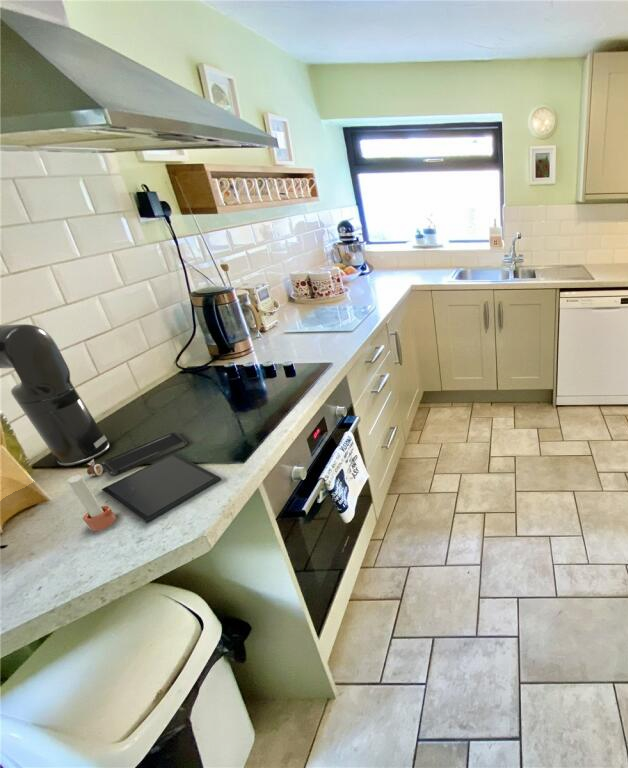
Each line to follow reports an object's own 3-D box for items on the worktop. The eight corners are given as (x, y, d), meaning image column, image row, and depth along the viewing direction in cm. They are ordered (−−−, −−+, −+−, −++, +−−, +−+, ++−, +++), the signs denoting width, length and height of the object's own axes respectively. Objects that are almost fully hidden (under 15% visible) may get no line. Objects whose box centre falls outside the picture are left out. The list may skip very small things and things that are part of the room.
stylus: (94, 524, 80) (65, 479, 74) (106, 518, 81) (78, 473, 75) (99, 528, 79) (70, 483, 73) (111, 522, 81) (83, 477, 74)
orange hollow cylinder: (87, 527, 80) (79, 516, 79) (111, 514, 83) (104, 503, 81) (95, 535, 78) (87, 523, 77) (120, 521, 81) (112, 509, 80)
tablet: (103, 492, 89) (100, 488, 89) (175, 456, 100) (174, 452, 99) (147, 524, 80) (144, 520, 79) (222, 480, 91) (220, 477, 90)
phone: (100, 462, 97) (174, 431, 107) (102, 466, 97) (176, 434, 108) (110, 474, 93) (187, 440, 103) (113, 478, 93) (188, 444, 104)
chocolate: (96, 471, 96) (87, 457, 94) (107, 470, 96) (98, 456, 94) (87, 480, 93) (78, 466, 91) (99, 478, 94) (89, 464, 92)
